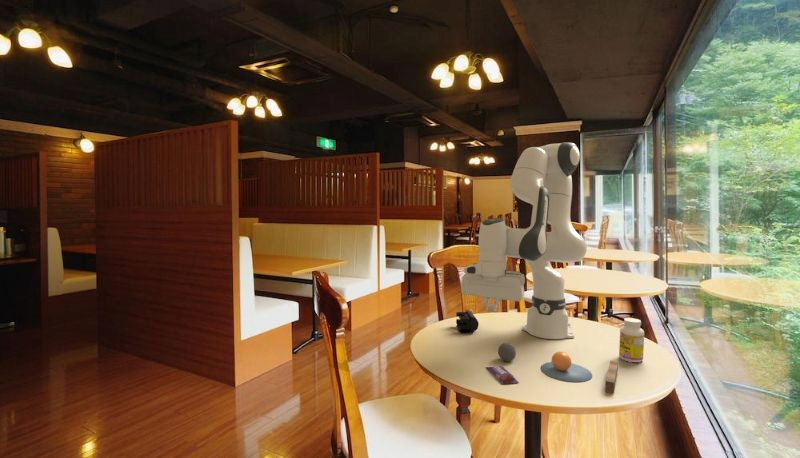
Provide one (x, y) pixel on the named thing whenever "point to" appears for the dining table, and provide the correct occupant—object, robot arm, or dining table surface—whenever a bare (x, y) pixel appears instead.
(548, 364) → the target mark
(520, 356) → the dining table surface
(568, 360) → the object ball
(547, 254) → the robot arm
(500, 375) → the snack package
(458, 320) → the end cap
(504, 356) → the dark gray ball
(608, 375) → the wall
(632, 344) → the supplement bottle
